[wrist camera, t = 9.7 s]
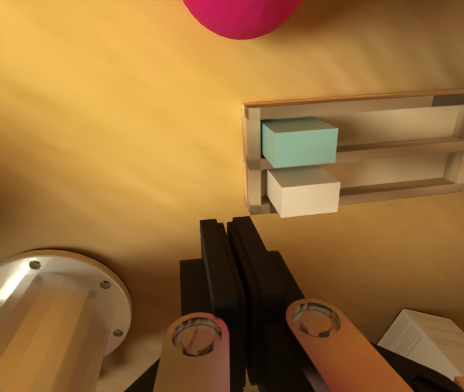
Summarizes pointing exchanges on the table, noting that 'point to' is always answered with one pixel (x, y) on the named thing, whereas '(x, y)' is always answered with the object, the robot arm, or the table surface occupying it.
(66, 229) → the table surface
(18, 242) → the table surface
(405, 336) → the supplement box
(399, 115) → the wooden shelf rack
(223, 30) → the pepper mill
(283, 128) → the teal tab
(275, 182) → the ivory tab
